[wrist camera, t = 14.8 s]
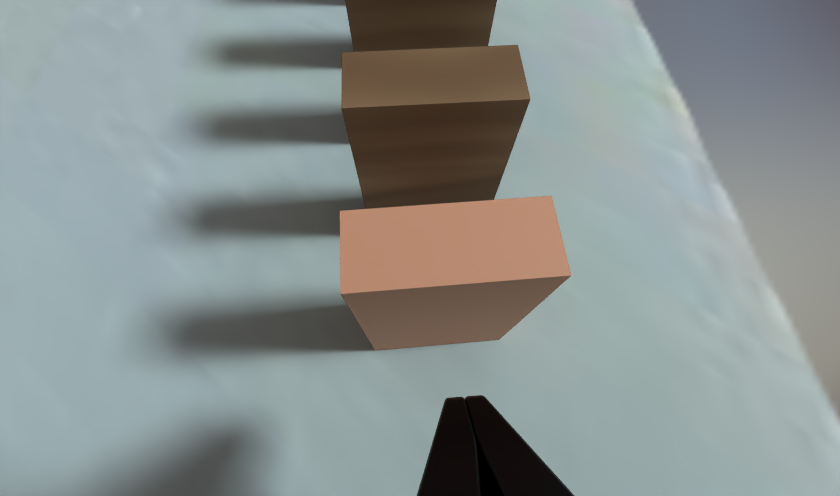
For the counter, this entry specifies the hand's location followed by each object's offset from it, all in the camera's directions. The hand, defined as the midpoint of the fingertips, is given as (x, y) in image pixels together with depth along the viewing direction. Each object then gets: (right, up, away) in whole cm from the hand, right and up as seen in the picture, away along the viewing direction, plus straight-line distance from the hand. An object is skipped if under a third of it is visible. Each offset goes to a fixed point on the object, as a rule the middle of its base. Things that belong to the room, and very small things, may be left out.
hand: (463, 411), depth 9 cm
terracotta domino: (0, +1, +8) cm, 8 cm away
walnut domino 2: (-1, +5, +10) cm, 11 cm away
